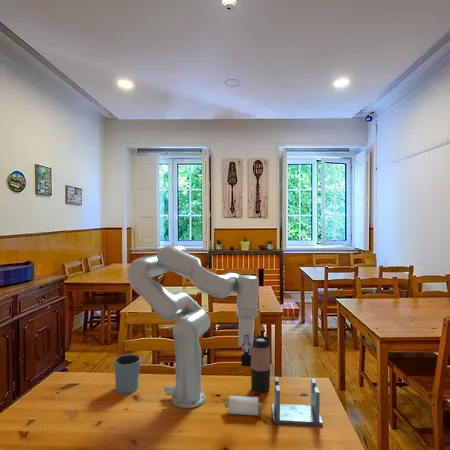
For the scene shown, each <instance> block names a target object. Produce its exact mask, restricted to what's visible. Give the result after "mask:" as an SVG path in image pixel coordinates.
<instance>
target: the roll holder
mask: <svg viewBox="0 0 450 450" xmlns="http://www.w3.org/2000/svg"><path fill="white" fill-rule="evenodd" d="M279 381H280V380H279V376H274V403H271V410H272V411H271V412H272V423H273V424H276V425H277V424H278V425H279V424H280V425H281V424H282V425H299V426H313V427H315V426H316V427H323V420H322V419H323V418H322V416H321V413H320V409H321V408H320V402H321V401H320V390H319V387H318V386H317V382H316V378H313V377H311V378H310V405H308V404H306V405H304V404H288V403H287V404H286V403H281V388H280V385H279V384H280V382H279Z"/></svg>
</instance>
